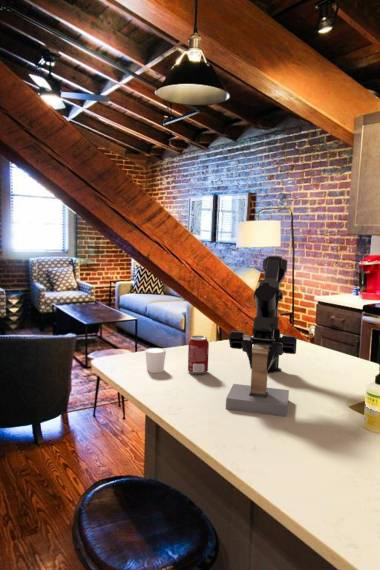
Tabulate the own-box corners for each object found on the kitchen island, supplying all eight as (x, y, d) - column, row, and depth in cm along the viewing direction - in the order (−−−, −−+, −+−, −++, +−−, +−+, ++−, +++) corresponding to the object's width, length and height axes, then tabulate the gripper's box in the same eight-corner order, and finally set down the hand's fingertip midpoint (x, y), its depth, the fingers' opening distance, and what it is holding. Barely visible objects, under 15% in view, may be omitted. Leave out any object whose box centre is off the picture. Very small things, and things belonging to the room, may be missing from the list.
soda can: (205, 376, 149) (207, 340, 148) (185, 374, 151) (186, 339, 149) (209, 370, 156) (210, 335, 154) (189, 368, 157) (190, 334, 156)
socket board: (233, 393, 134) (233, 383, 134) (288, 400, 130) (288, 390, 130) (225, 408, 123) (226, 398, 122) (286, 416, 119) (286, 405, 118)
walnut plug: (251, 387, 128) (254, 344, 127) (266, 389, 127) (269, 345, 126) (250, 392, 124) (252, 348, 123) (265, 394, 123) (267, 349, 122)
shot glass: (168, 368, 156) (168, 348, 155) (160, 374, 150) (161, 353, 149) (150, 366, 158) (150, 346, 157) (141, 371, 152) (142, 351, 151)
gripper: (231, 302, 129) (222, 350, 120) (298, 307, 124) (294, 357, 115) (234, 324, 138) (226, 370, 128) (297, 329, 133) (294, 378, 124)
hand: (259, 369), depth 124 cm, fingers closed on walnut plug, 4 cm apart
